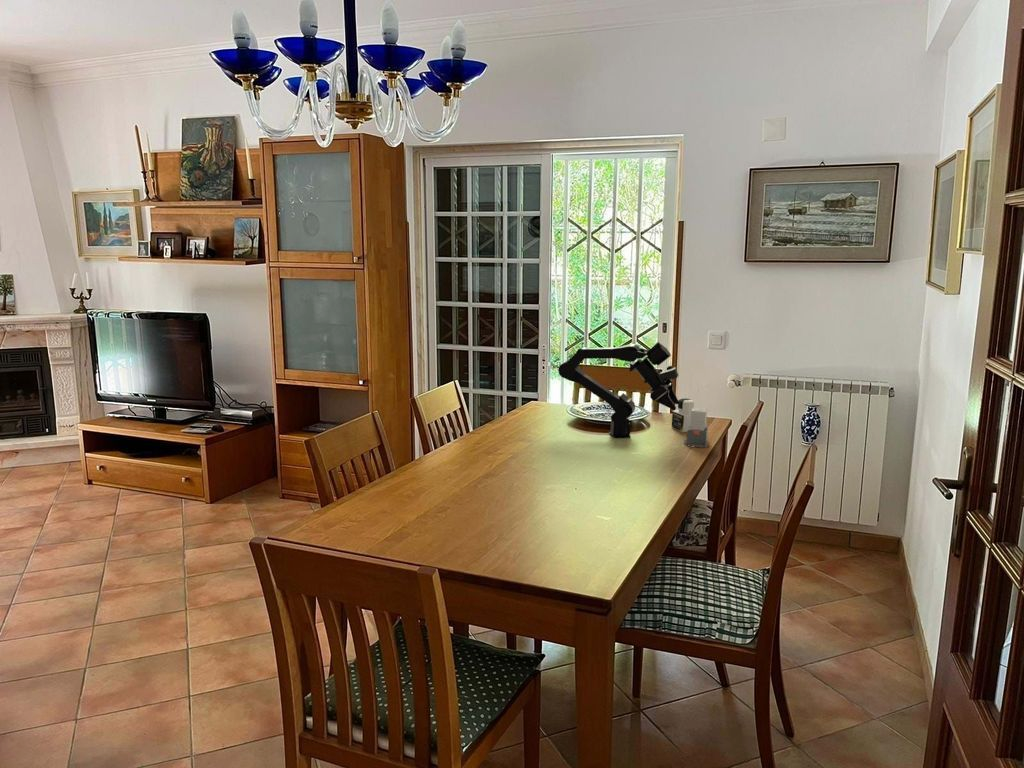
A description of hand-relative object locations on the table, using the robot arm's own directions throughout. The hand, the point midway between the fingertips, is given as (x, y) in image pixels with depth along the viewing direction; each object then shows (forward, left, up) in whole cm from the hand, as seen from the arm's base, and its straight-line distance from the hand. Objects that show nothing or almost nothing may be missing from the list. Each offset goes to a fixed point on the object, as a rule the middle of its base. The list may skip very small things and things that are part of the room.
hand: (676, 406), depth 268 cm
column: (+7, -4, -13) cm, 16 cm away
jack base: (+7, -4, -13) cm, 16 cm away
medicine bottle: (+11, +15, -13) cm, 22 cm away
